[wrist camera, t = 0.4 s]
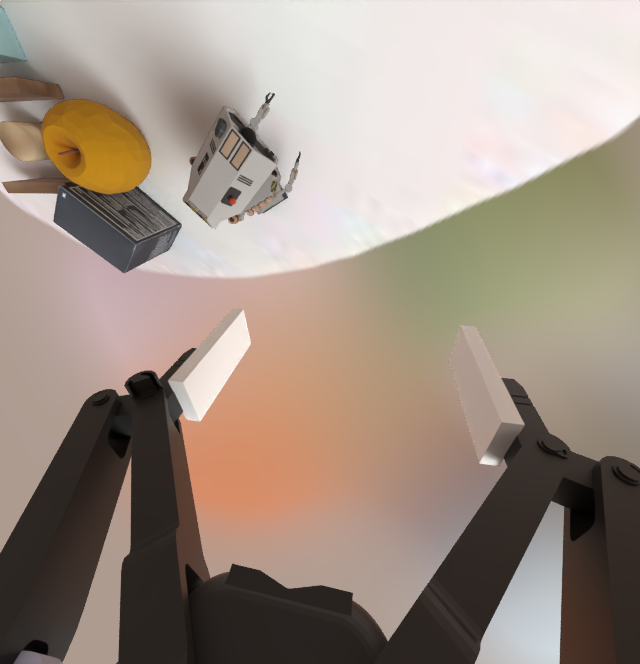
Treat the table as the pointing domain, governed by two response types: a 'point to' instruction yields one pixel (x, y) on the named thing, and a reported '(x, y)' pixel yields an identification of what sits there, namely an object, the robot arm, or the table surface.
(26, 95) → the divider rack
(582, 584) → the robot arm
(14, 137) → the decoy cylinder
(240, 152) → the figurine
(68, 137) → the apple
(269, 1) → the table surface
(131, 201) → the small box
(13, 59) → the letter cube
